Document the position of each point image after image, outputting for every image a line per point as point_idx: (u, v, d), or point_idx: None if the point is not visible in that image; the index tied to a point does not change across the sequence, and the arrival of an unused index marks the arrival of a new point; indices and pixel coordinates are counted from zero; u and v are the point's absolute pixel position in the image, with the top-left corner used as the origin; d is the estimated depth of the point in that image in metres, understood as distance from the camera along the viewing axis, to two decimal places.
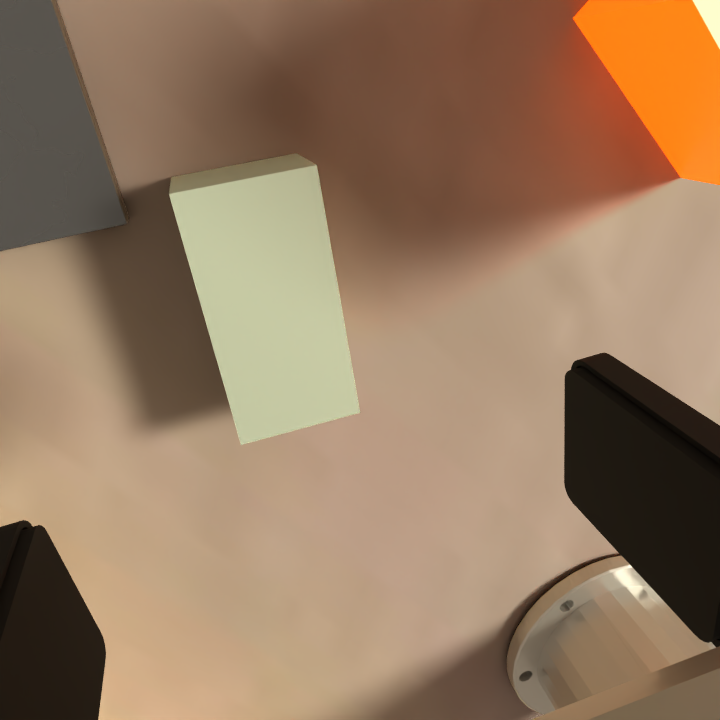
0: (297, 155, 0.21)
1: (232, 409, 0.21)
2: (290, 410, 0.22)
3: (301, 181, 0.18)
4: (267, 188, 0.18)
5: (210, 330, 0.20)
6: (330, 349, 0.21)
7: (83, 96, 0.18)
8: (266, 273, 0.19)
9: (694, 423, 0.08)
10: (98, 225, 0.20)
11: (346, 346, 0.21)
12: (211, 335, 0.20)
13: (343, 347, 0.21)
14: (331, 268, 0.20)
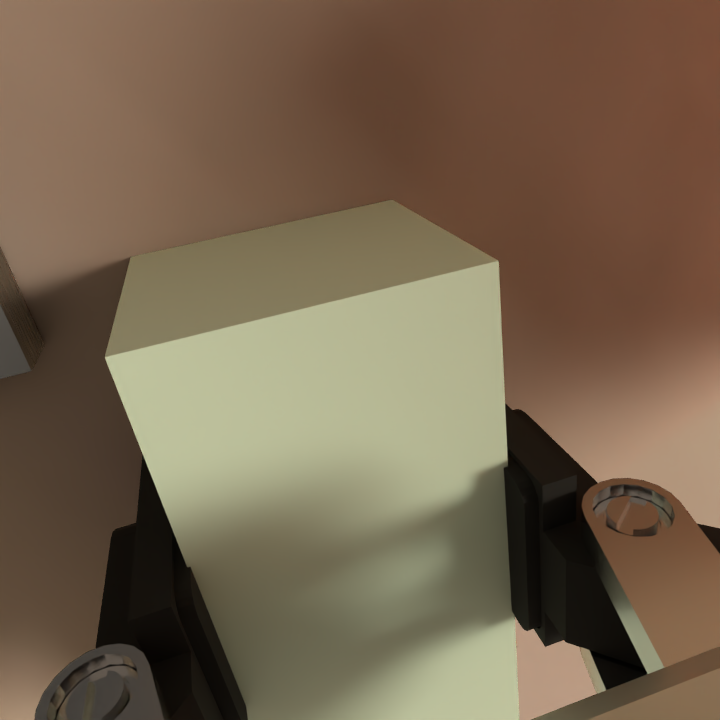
0: (405, 210, 0.10)
1: None
2: None
3: (456, 302, 0.07)
4: (371, 324, 0.07)
5: (220, 638, 0.08)
6: (478, 630, 0.10)
7: None
8: (354, 510, 0.08)
9: (509, 425, 0.09)
10: None
11: (510, 621, 0.10)
12: (223, 646, 0.08)
13: (504, 624, 0.10)
14: (501, 484, 0.09)
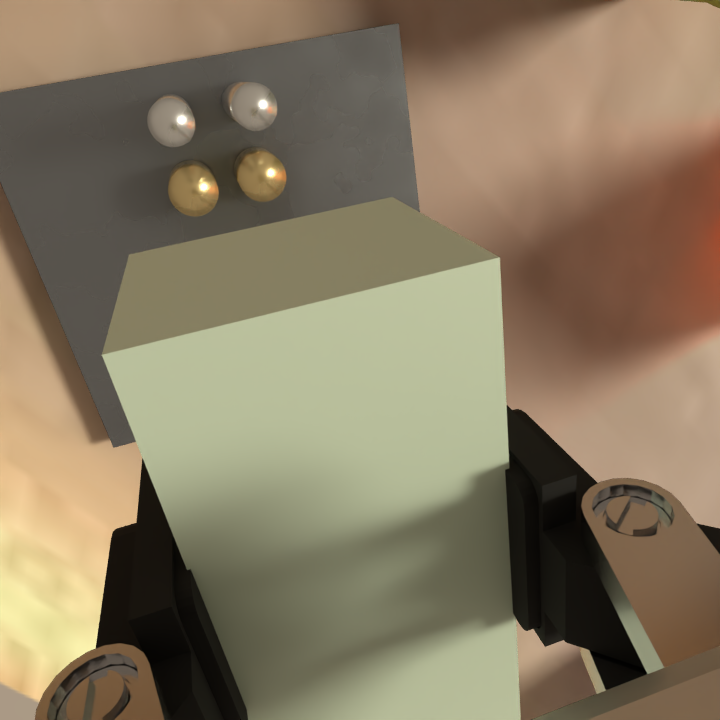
0: (405, 207, 0.10)
1: None
2: None
3: (457, 299, 0.07)
4: (371, 322, 0.07)
5: (219, 639, 0.08)
6: (478, 630, 0.10)
7: None
8: (354, 510, 0.08)
9: (509, 426, 0.09)
10: None
11: (512, 621, 0.10)
12: (222, 646, 0.08)
13: (506, 624, 0.10)
14: (502, 483, 0.08)
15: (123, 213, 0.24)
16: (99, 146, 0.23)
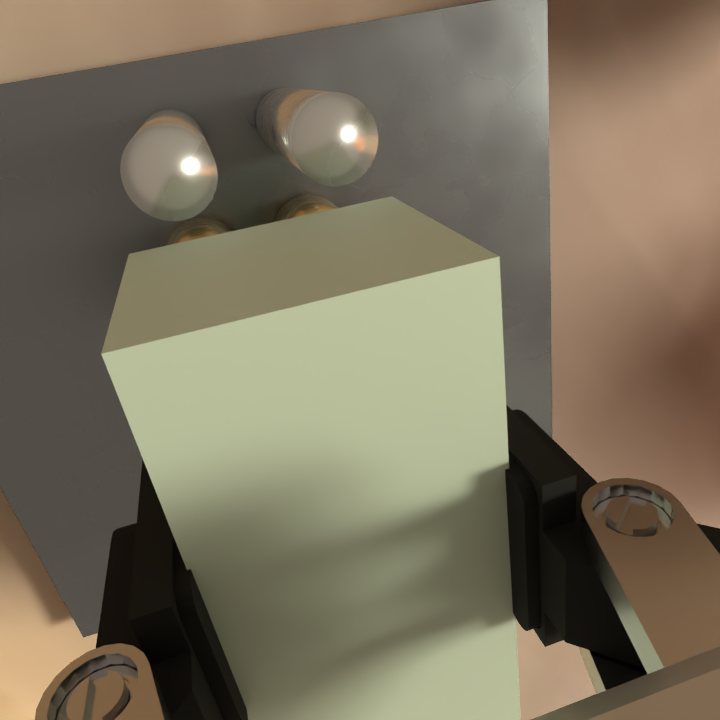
0: (405, 207, 0.10)
1: None
2: None
3: (457, 298, 0.07)
4: (370, 321, 0.07)
5: (219, 638, 0.08)
6: (479, 629, 0.10)
7: (551, 388, 0.19)
8: (353, 509, 0.08)
9: (509, 426, 0.09)
10: None
11: (512, 620, 0.10)
12: None
13: (506, 623, 0.10)
14: (502, 482, 0.08)
15: (91, 304, 0.14)
16: (47, 198, 0.13)
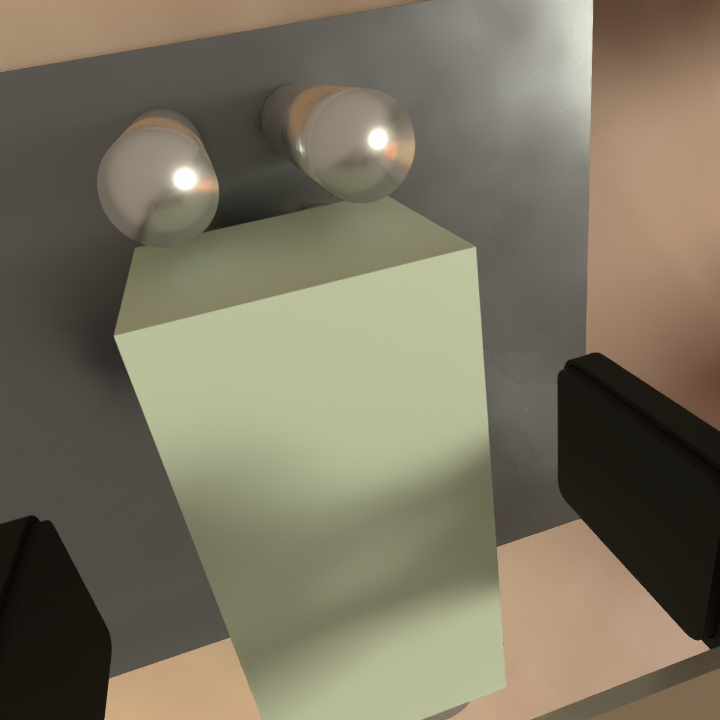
0: (393, 202, 0.10)
1: None
2: (379, 705, 0.11)
3: (437, 285, 0.08)
4: (358, 306, 0.08)
5: (222, 602, 0.09)
6: (464, 598, 0.10)
7: None
8: (346, 481, 0.09)
9: (684, 422, 0.08)
10: (557, 523, 0.19)
11: (495, 589, 0.10)
12: (224, 610, 0.09)
13: (490, 592, 0.10)
14: (483, 457, 0.09)
15: (73, 331, 0.13)
16: (20, 211, 0.11)
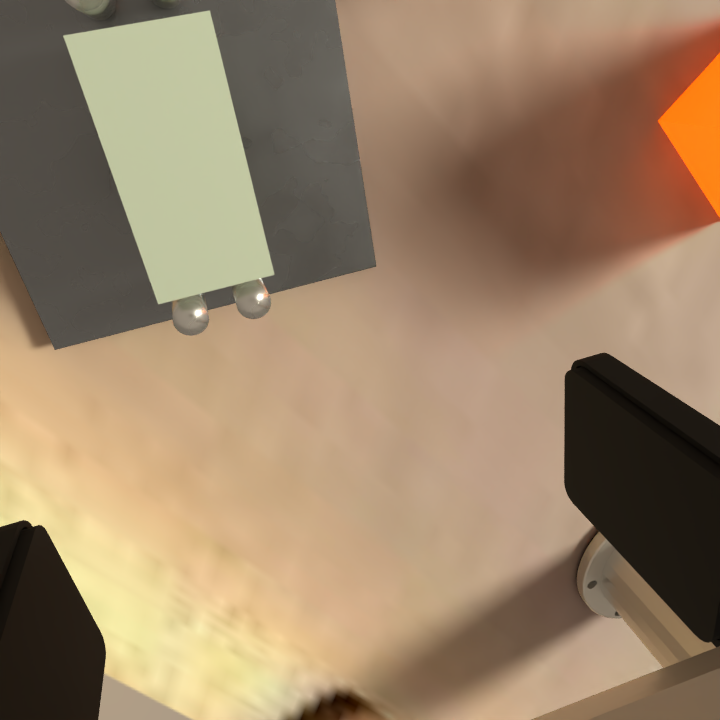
0: None
1: (146, 266, 0.22)
2: (204, 269, 0.22)
3: (195, 27, 0.19)
4: (162, 33, 0.19)
5: (117, 182, 0.20)
6: (239, 206, 0.22)
7: None
8: (168, 123, 0.20)
9: (694, 423, 0.08)
10: (359, 268, 0.31)
11: (255, 204, 0.22)
12: (118, 187, 0.20)
13: (252, 205, 0.22)
14: (233, 121, 0.21)
15: (51, 102, 0.24)
16: (22, 30, 0.23)
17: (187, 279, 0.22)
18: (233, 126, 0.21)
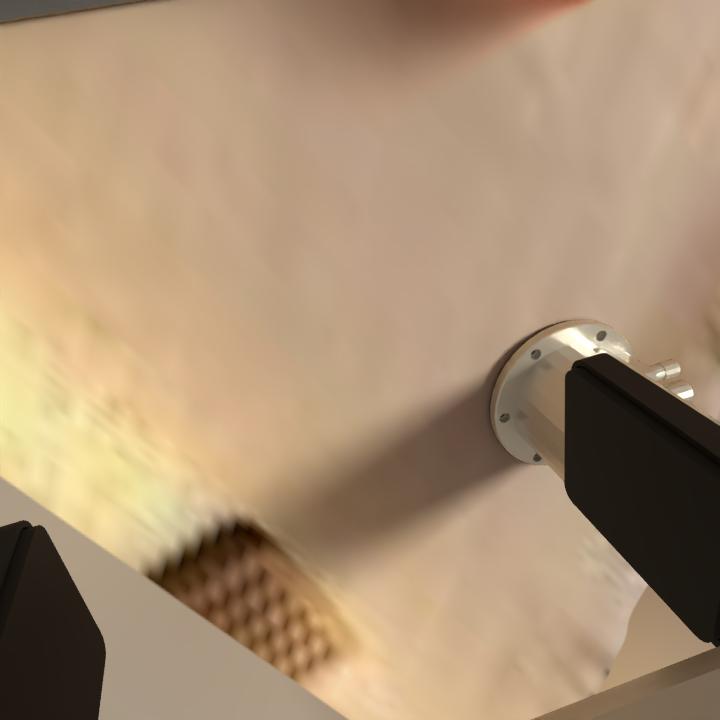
0: None
1: None
2: None
3: None
4: None
5: None
6: None
7: None
8: None
9: (694, 423, 0.08)
10: None
11: None
12: None
13: None
14: None
15: None
16: None
17: None
18: None
